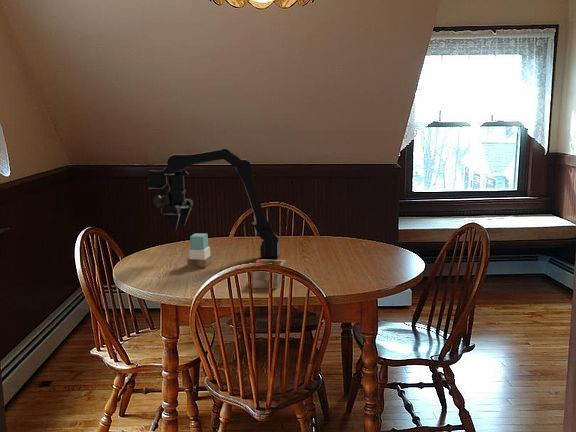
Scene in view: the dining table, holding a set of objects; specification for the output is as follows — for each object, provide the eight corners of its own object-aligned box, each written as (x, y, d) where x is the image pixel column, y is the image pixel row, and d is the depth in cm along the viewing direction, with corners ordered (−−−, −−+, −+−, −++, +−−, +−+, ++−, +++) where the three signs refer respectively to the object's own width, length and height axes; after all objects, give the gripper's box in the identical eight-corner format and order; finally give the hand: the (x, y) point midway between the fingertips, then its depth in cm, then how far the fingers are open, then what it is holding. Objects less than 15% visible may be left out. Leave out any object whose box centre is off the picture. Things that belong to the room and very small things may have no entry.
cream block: (210, 255, 226) (210, 246, 225) (204, 259, 220) (204, 250, 219) (195, 255, 227) (194, 246, 226) (189, 259, 221) (189, 249, 220)
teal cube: (208, 246, 225) (207, 233, 224) (203, 249, 220) (203, 236, 219) (195, 246, 226) (194, 233, 225) (190, 249, 221) (190, 236, 220)
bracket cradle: (285, 275, 209) (285, 260, 208) (277, 288, 194) (277, 272, 193) (260, 274, 211) (260, 259, 210) (250, 287, 196) (249, 271, 195)
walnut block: (211, 264, 227) (211, 255, 226) (205, 269, 220) (205, 259, 220) (193, 263, 228) (193, 254, 228) (187, 268, 221) (187, 259, 221)
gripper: (165, 184, 235) (167, 223, 238) (146, 191, 217) (148, 233, 220) (192, 184, 233) (194, 224, 236) (175, 191, 215) (177, 234, 218)
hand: (178, 228), depth 227 cm, fingers open, 9 cm apart
